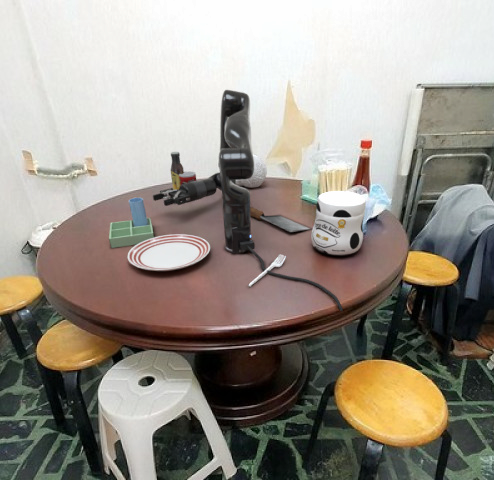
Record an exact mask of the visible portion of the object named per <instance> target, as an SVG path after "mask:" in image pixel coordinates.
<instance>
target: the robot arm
mask: <svg viewBox="0 0 494 480" xmlns="http://www.w3.org/2000/svg"><path fill="white" fill-rule="evenodd" d="M219 115H220V118H219V119H220V123H219V134H220V135H219V140H220V141H219V152H218V162H217V163H218V169H219V172H215V173H214V174H212V175H210V176H209V177H208V178H204V179H200V180H196V181H193V182H189V183H185V184H182V185H180V187H179V190H177V189H175V190H173V187H171V188H166V189H162V190H160V191H159V193H156V194H153V195H152V199H153V201H155V202H156V201H159V200H163V204H164V206H165V207H167V206H171V205H178V206H181V205H184V204H188V203H192V202H195V201H199V200H202V199H204V198H208V197H210V196H212V195H215V194H216V192H217V190H219V191H220V192H221V201H222V217H223V231H224V232H223V233H224V244H225V245H224V248H225V251H227V252H229V253H231V254H233V255H237V254H244V253H249V252H251V253H252V255H254V256H255V257H256V258H257V259H258V261H259V262H260V263H261V264H260V265H261V269H262V270H263V272H264V271H265V270H266V269H267V268H266V267H265V262H264V260H263V258H262V257H261V255H259V254H258V253H256V251H255V241H254V240H253V239H252V220H251V218H252V216H251V214H250V207H251V192H250V191H249V189H248V188H246V187H242V186H238V185H236V180H241V179H243V180H244V179H249V178H251V177H252V175H253V172H254V157H253V154H254V152H253V147H252V127H251V117H250V115H251V99H250V96H249V95H248V93H245V92H243V91H238V90H237V91H236V90H231V89H225V90H223V92H222V96H221V101H220V114H219ZM266 274H268V275H270V276H274V277H278V278H283V279H287V280H290V281H291V280H292V281H298V282H304V283H307V284H309V285H312V286H315V287H317V288H319V289H320V290H322V291H323V292H325V293H326V294H327V295H328V296H330V297H331V298H332V299H333V300H334V302H335V303H336V305H337V308H338V310H339V311H340V312H343V311H344V309H343V307H342V304H341V302H340V300H339V298H338V297H337V296H336V295H335V294H334V293H333V292H331V291H330V290H328V289H327V288H326V287H325V286H323V285H321V284H319V283H317V282H315V281H313V280H310V279H307V278H302V277H297V276H290V275H286V274H281V273H277V272H273V271H271V270H270V271H267V273H266Z"/></svg>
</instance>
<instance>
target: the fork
mask: <svg viewBox="0 0 494 480" xmlns="http://www.w3.org/2000/svg"><path fill="white" fill-rule="evenodd" d="M286 257H287V256H286V255H285V256H284V254H281V253H279V254H278V256H277V257H276V258H275V259H274V260H273V261H272V263H270V265H269V266H268V267H267V268H265V269H266V270H265V271H264V270H263V271H262V272H261V273H260V274H259V275H258V276H256V277H255V278H254V279H253V280H252V281H250V283H249V284H248V285H247V286H248V287H252V286H253V285H254V284H256V283H257V282H258V281H259V280H260V279H262V278H263V277H264V276H265V275H266V274H268V273H267V271H271V270H272V269H273V268H281V267H282V266H283V264H284V262H285V260H286Z"/></svg>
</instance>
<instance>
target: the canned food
mask: <svg viewBox="0 0 494 480" xmlns="http://www.w3.org/2000/svg"><path fill="white" fill-rule="evenodd" d="M179 179H180V185H182V184H185V183H189V182H193V181H197V175H196V172H195V171H184V173H183V174H179Z"/></svg>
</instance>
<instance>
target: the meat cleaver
mask: <svg viewBox="0 0 494 480" xmlns="http://www.w3.org/2000/svg"><path fill="white" fill-rule="evenodd" d="M250 214H251V218H255V219H256V220H257V221H260V220H264V221H266V222H268V223H271V225H272V224H273V226H277V227H278V228H280V229H283V230H284V231H287V232H289V233H294V232H295V233H296V232H300V231H301V232H302V231H308V230H311V228H309V227H307V226H305V225H303V224H300V223H299V222H296V221H294V220H291V219H289V218H287V217H284V216H281V215H273V214H272V215H265V214H264V211H263V210H259V209H257V208H255V207H252V206H250Z"/></svg>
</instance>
